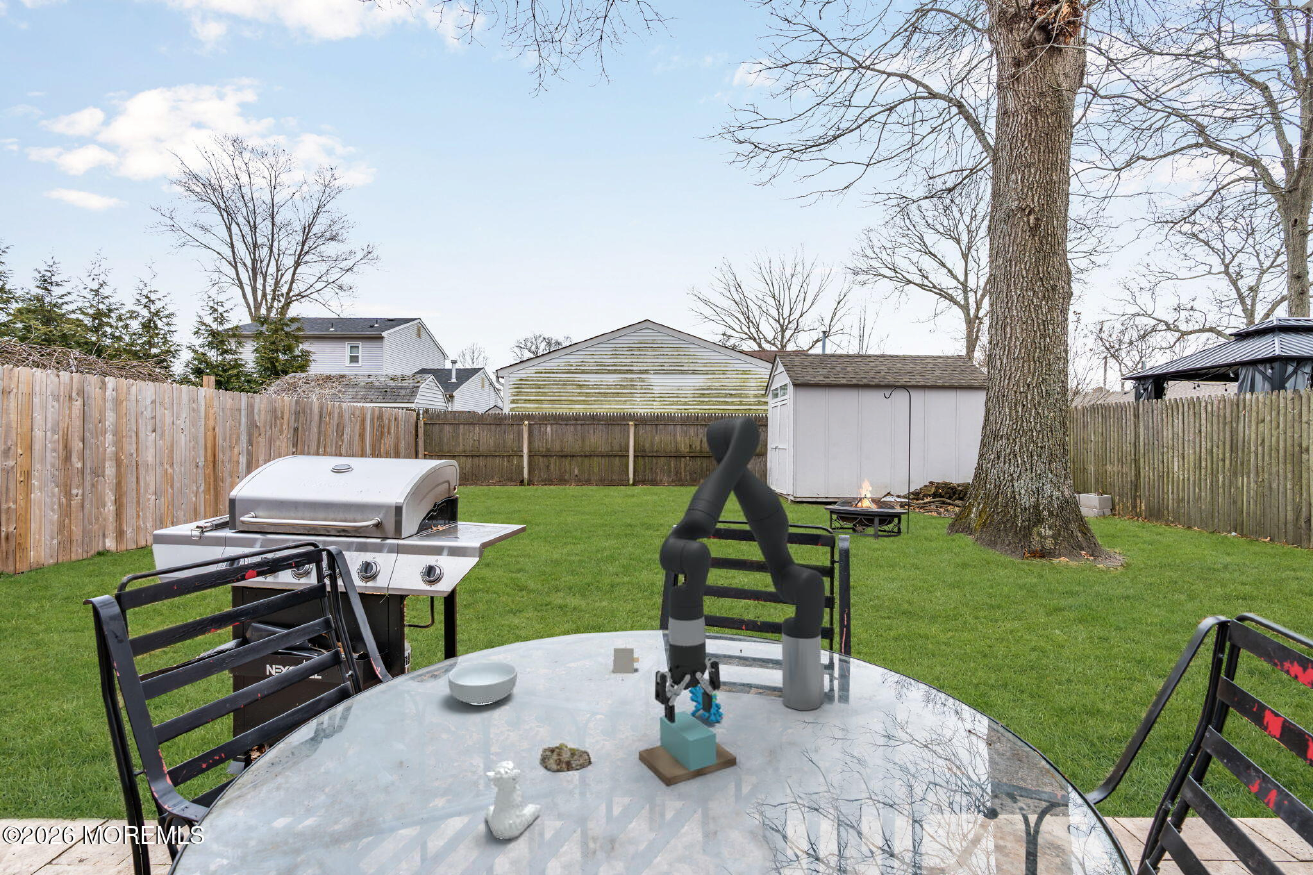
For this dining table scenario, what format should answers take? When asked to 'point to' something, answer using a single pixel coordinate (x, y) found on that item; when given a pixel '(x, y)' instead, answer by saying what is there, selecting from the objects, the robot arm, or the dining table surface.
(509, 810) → the white creature statuette
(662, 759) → the base plate
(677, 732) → the teal rectangular block
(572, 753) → the mineral rock
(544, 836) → the dining table surface
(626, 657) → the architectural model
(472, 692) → the cereal bowl
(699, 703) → the blue lumpy branched piece
